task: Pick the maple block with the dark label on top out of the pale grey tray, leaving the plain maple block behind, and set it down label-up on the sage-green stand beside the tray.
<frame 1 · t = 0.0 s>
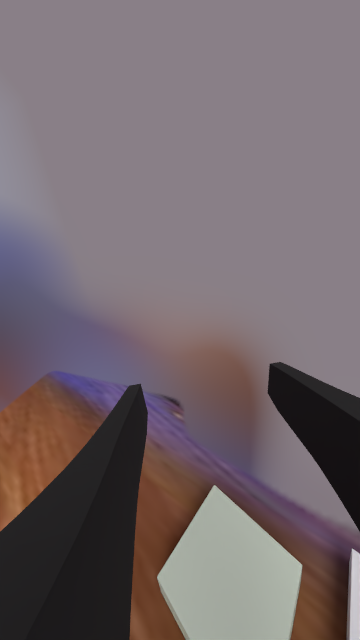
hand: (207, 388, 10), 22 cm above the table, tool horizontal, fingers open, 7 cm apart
sage stand: (230, 587, 16), on the table
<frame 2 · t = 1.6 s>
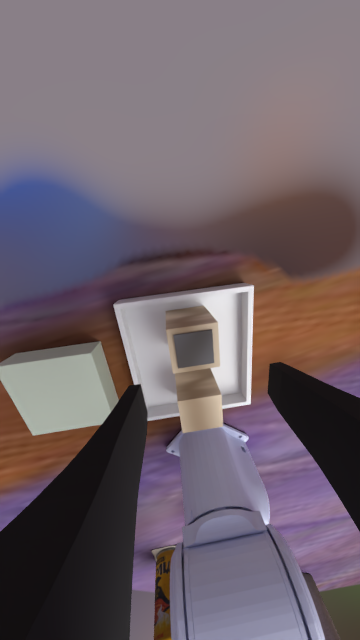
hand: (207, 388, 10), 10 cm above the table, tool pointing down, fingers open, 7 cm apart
pillar candle: (293, 579, 47), on the table
plain block: (193, 379, 21), resting on parts tray
condiment: (175, 551, 36), on the table
sage stand: (72, 381, 20), on the table
parts tray: (189, 352, 20), on the table
labelled block: (186, 326, 18), resting on parts tray
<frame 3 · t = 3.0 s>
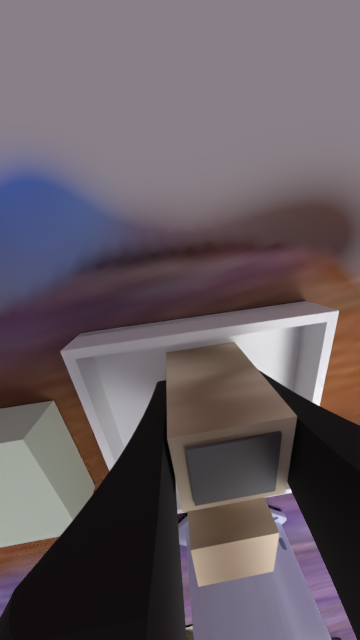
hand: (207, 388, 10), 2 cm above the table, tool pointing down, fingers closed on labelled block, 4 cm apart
plain block: (210, 451, 13), resting on parts tray
condiment: (177, 632, 28), on the table
sage stand: (12, 459, 12), on the table
parts tray: (205, 411, 12), on the table
labelled block: (203, 375, 11), resting on parts tray, touching gripper
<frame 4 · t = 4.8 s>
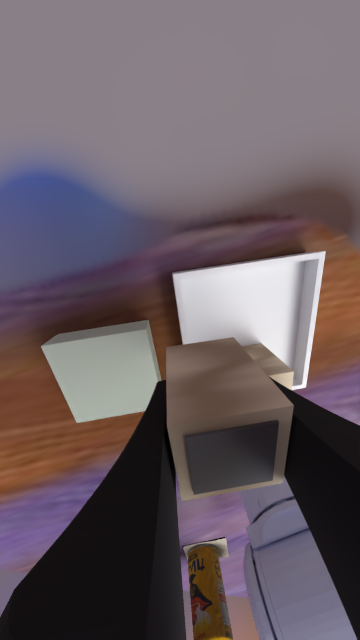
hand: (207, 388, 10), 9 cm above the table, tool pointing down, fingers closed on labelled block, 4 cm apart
plain block: (243, 361, 19), resting on parts tray
condiment: (206, 548, 35), on the table
sage stand: (115, 364, 19), on the table
parts tray: (241, 331, 19), on the table
labelled block: (202, 370, 11), point 8 cm above the table, touching gripper
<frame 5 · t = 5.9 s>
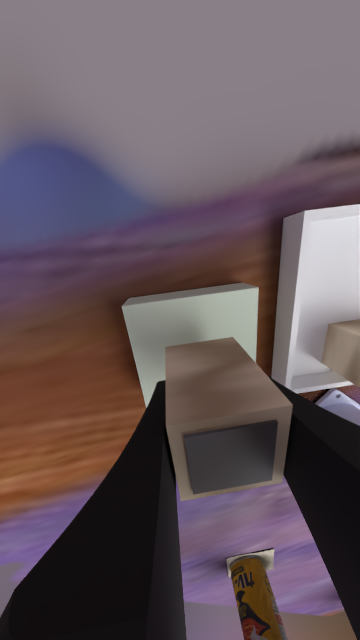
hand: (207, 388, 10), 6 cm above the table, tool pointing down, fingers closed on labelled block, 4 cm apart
plain block: (345, 340, 16), resting on parts tray
condiment: (249, 559, 31), on the table
sage stand: (191, 341, 15), on the table
parts tray: (348, 302, 15), on the table
labelled block: (201, 370, 11), point 5 cm above the table, touching gripper
when the fingers open (5 cm above the table, at t = 6.4 s): labelled block drops 1 cm, resting on sage stand.
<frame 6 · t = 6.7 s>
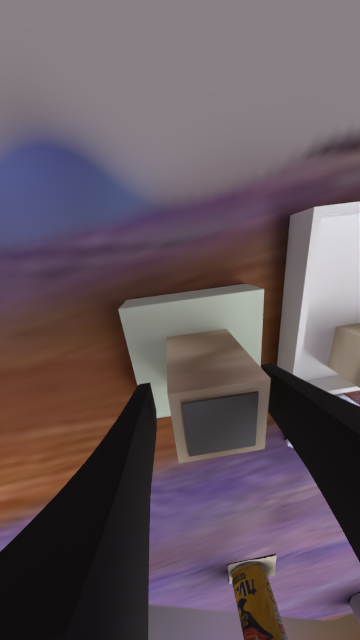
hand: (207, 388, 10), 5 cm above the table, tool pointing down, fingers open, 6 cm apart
plain block: (353, 344, 15), resting on parts tray
condiment: (251, 566, 30), on the table
sage stand: (192, 344, 14), on the table
parts tray: (356, 304, 14), on the table
labelled block: (198, 359, 12), point 2 cm above the table, touching sage stand
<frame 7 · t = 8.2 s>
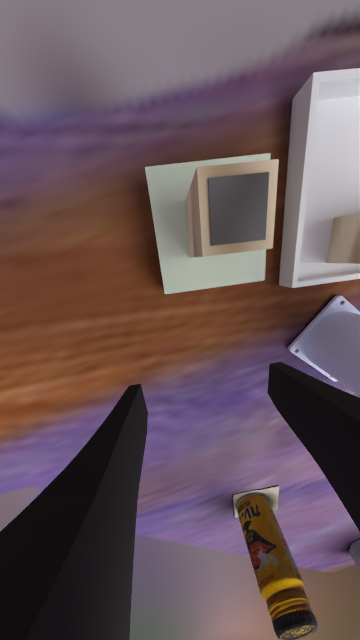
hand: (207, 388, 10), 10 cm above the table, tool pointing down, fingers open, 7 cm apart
plain block: (349, 238, 17), resting on parts tray
condiment: (255, 499, 32), on the table
sage stand: (205, 234, 16), on the table
parts tray: (351, 198, 16), on the table
labelled block: (212, 227, 14), point 2 cm above the table, touching sage stand
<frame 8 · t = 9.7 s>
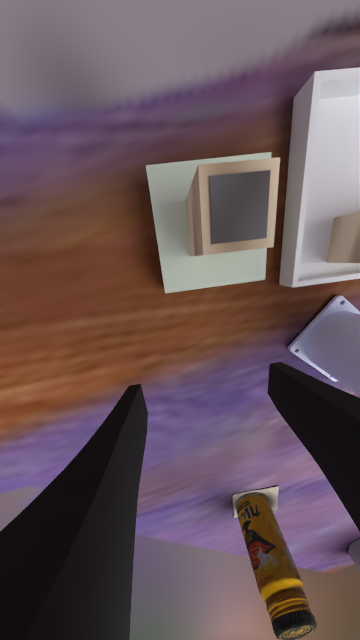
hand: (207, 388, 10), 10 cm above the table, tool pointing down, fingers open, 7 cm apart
plain block: (349, 238, 17), resting on parts tray
condiment: (254, 499, 32), on the table
sage stand: (205, 234, 16), on the table
parts tray: (352, 197, 16), on the table
labelled block: (213, 226, 14), point 2 cm above the table, touching sage stand
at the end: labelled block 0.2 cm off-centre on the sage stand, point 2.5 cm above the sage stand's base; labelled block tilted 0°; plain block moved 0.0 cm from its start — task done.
